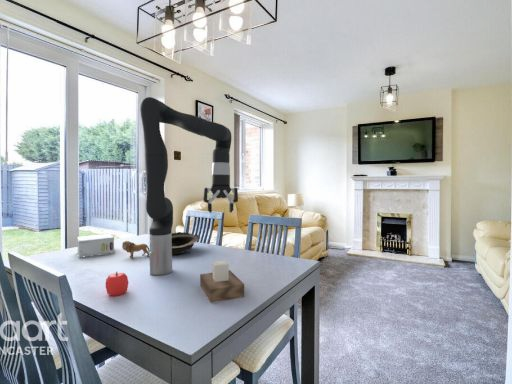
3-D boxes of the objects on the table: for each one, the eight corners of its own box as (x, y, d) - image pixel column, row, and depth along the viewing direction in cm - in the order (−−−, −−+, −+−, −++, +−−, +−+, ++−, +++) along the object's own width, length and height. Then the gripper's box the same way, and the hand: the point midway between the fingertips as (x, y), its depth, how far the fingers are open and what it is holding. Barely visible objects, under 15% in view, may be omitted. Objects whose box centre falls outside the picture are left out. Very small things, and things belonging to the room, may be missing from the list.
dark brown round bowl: (190, 243, 175) (191, 229, 174) (205, 256, 154) (205, 240, 152) (149, 248, 162) (149, 233, 161) (158, 263, 141) (158, 245, 140)
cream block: (214, 282, 99) (214, 265, 99) (212, 277, 104) (212, 261, 104) (228, 280, 101) (228, 264, 100) (225, 275, 105) (225, 260, 105)
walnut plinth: (210, 304, 93) (210, 289, 93) (200, 287, 107) (200, 274, 107) (244, 297, 98) (244, 283, 97) (229, 282, 112) (229, 270, 112)
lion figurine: (122, 259, 142) (122, 242, 141) (122, 257, 147) (121, 240, 146) (153, 256, 148) (152, 239, 148) (151, 253, 153) (151, 237, 153)
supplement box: (78, 258, 145) (78, 240, 144) (77, 252, 156) (76, 236, 155) (114, 253, 155) (114, 236, 154) (111, 248, 165) (110, 232, 165)
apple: (110, 300, 95) (110, 277, 95) (101, 294, 100) (100, 272, 100) (133, 292, 101) (133, 271, 101) (123, 287, 106) (122, 266, 106)
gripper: (204, 173, 110) (204, 214, 111) (239, 174, 114) (239, 213, 115) (202, 173, 117) (202, 211, 118) (235, 174, 122) (235, 211, 122)
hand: (220, 212), depth 117 cm, fingers open, 8 cm apart
